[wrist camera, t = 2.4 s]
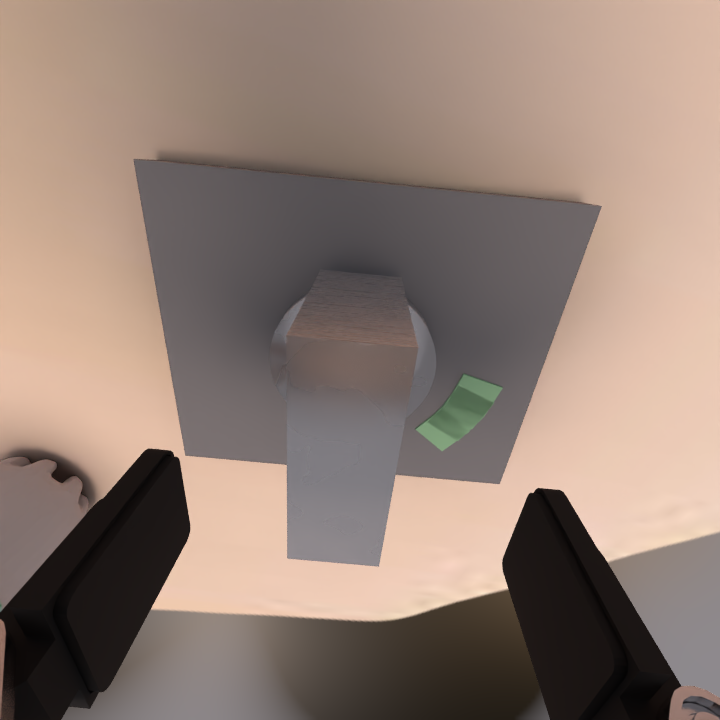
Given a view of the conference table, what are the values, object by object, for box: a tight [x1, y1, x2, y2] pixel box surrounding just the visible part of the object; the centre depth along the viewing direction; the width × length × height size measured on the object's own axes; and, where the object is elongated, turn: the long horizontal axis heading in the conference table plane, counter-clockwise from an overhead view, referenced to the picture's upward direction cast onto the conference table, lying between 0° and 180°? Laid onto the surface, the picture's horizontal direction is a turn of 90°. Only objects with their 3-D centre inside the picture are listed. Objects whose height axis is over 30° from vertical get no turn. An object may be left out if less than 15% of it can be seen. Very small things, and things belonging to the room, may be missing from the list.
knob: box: [269, 270, 436, 566], centre depth 14 cm, size 7×10×7 cm, turn 175°
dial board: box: [134, 159, 602, 484], centre depth 17 cm, size 14×17×2 cm
